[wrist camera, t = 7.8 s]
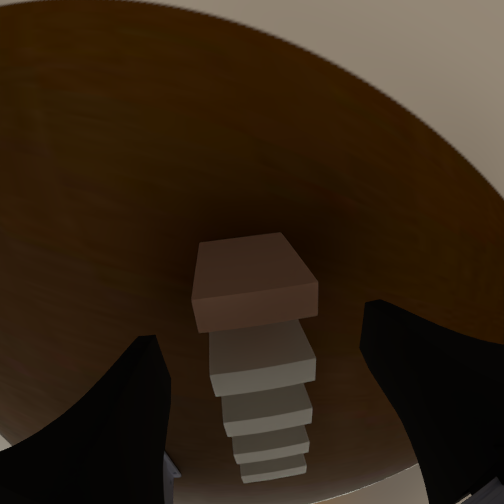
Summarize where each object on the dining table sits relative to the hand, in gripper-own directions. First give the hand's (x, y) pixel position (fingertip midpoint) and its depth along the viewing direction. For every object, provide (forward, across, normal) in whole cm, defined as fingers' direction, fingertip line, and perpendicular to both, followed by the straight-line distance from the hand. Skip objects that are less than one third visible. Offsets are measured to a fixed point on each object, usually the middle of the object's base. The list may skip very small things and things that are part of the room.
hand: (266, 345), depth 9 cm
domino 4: (+9, 0, +12) cm, 15 cm away
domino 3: (+9, 0, +8) cm, 12 cm away
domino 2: (+9, 0, +4) cm, 10 cm away
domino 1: (+9, 0, 0) cm, 9 cm away
